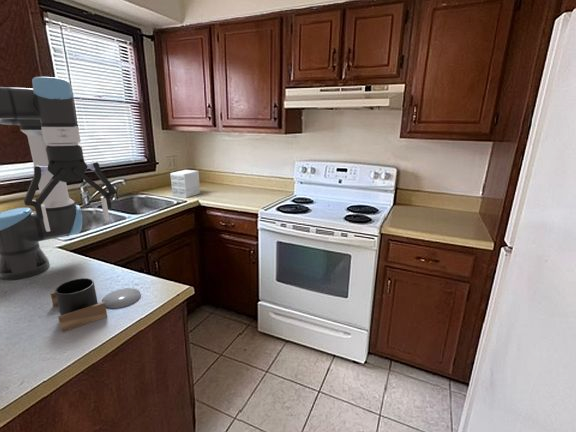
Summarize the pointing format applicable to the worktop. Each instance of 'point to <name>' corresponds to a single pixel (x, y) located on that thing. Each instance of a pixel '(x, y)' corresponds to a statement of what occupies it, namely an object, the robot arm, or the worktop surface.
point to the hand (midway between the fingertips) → (78, 224)
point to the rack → (80, 315)
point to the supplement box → (185, 183)
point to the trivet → (121, 298)
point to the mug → (76, 295)
